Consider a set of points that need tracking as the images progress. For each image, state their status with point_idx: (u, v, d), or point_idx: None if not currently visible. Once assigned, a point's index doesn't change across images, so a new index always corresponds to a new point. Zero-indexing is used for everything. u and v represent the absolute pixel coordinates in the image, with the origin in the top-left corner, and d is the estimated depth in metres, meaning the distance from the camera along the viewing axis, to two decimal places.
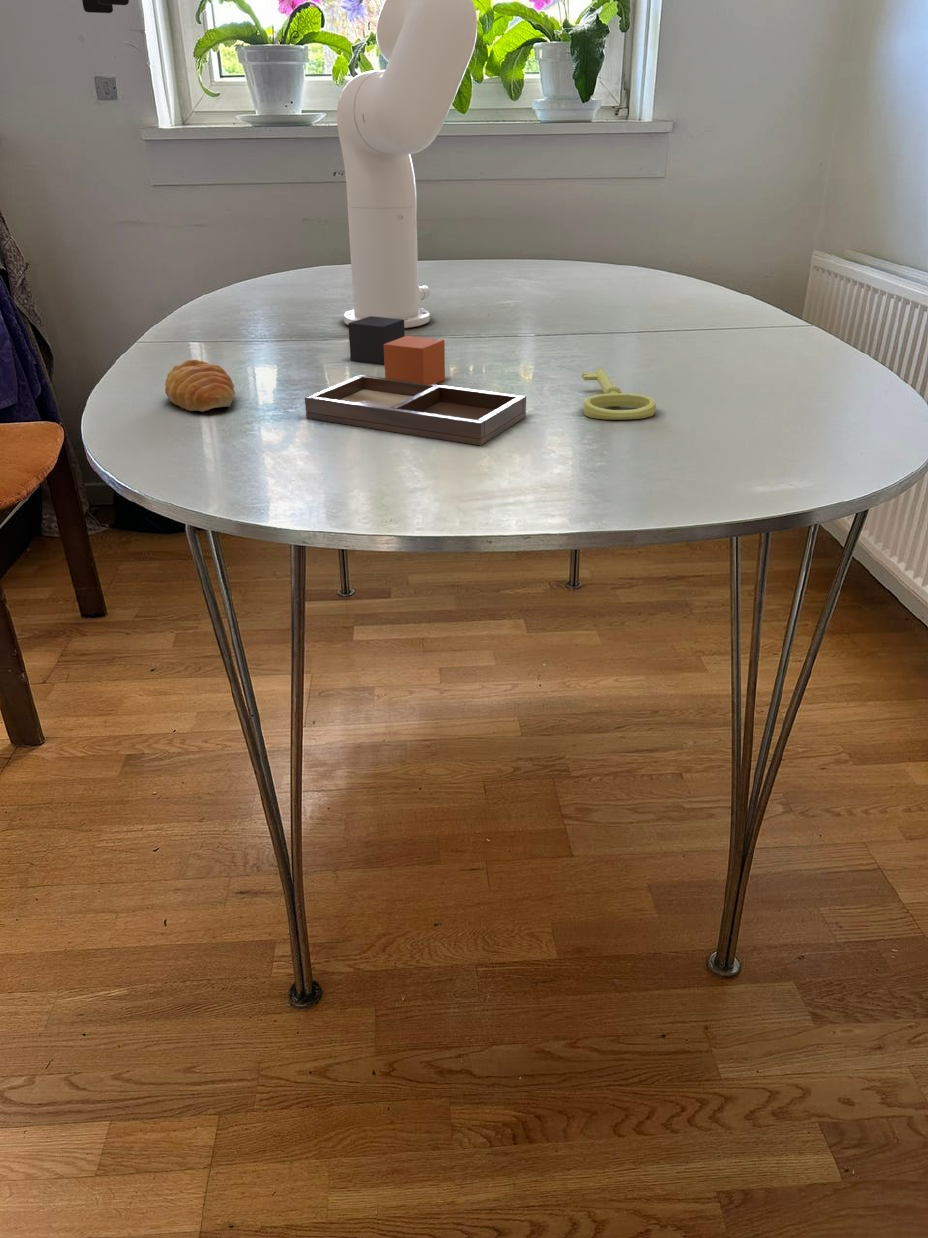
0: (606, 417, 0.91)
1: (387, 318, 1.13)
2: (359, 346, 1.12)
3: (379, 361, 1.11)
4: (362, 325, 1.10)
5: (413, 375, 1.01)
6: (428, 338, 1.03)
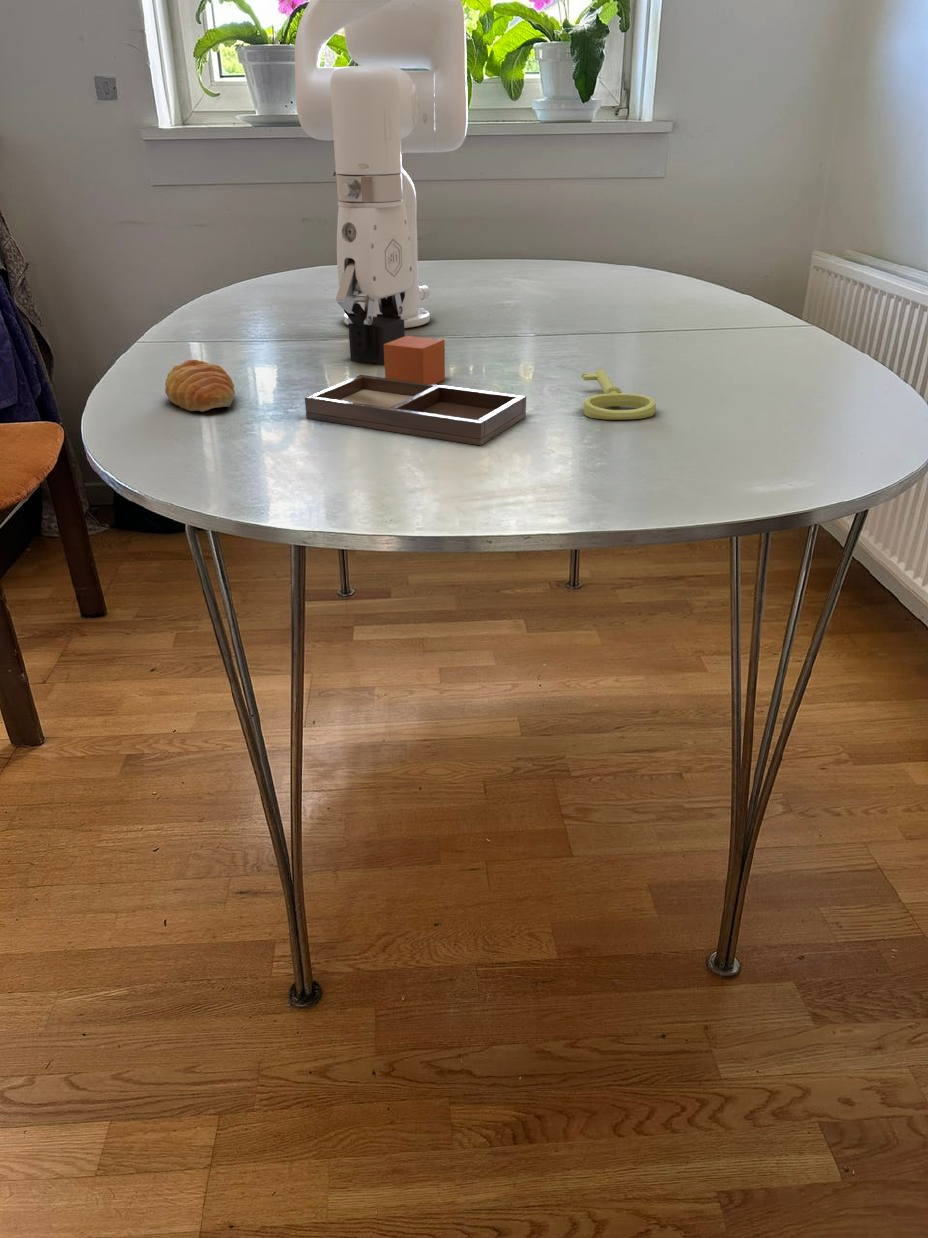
0: (606, 417, 0.91)
1: (387, 318, 1.13)
2: None
3: (379, 361, 1.11)
4: None
5: (413, 375, 1.01)
6: (428, 338, 1.03)
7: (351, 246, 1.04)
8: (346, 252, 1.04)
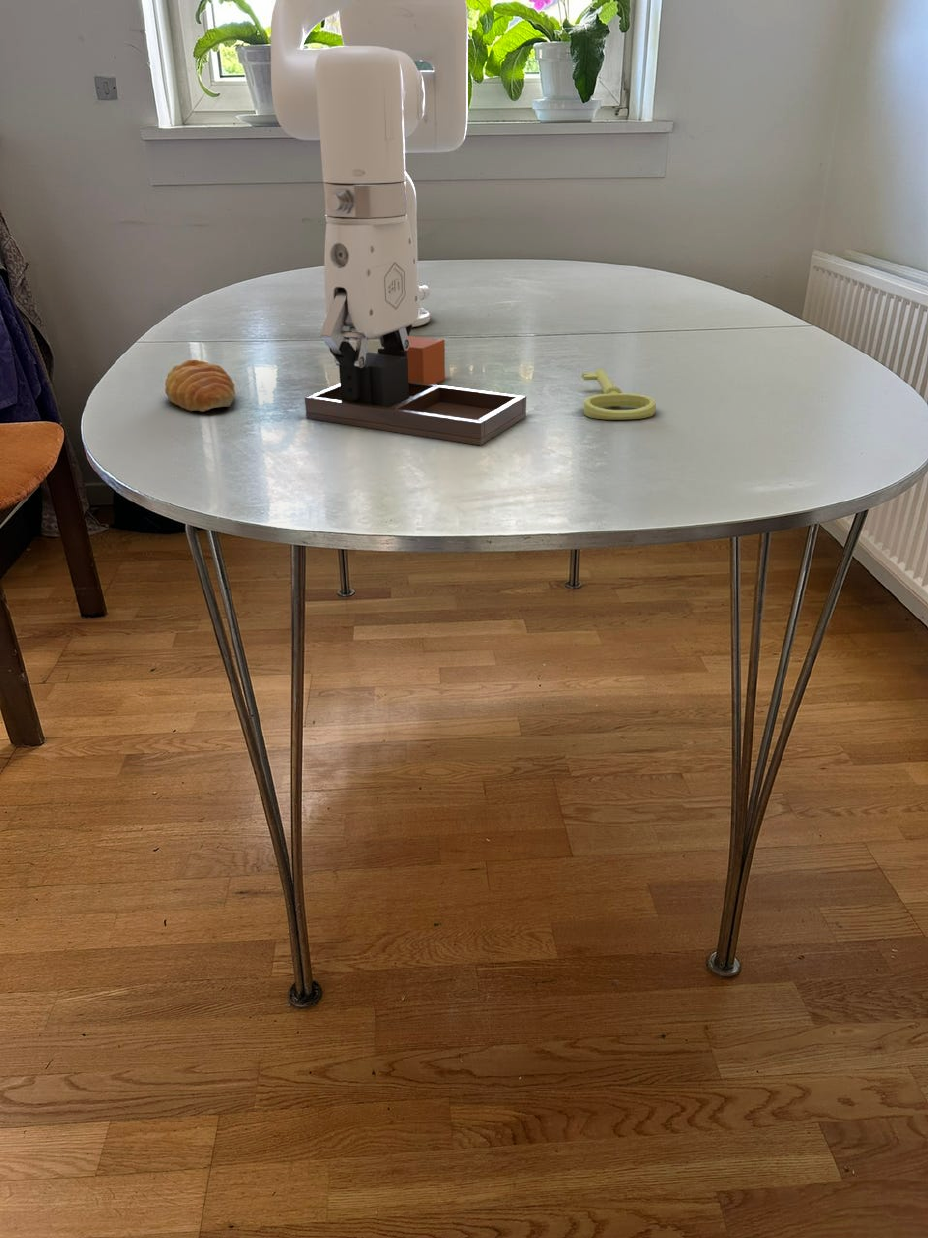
0: (606, 417, 0.91)
1: (387, 355, 0.92)
2: None
3: None
4: None
5: (413, 375, 1.01)
6: (428, 338, 1.03)
7: (342, 273, 0.83)
8: (335, 280, 0.83)
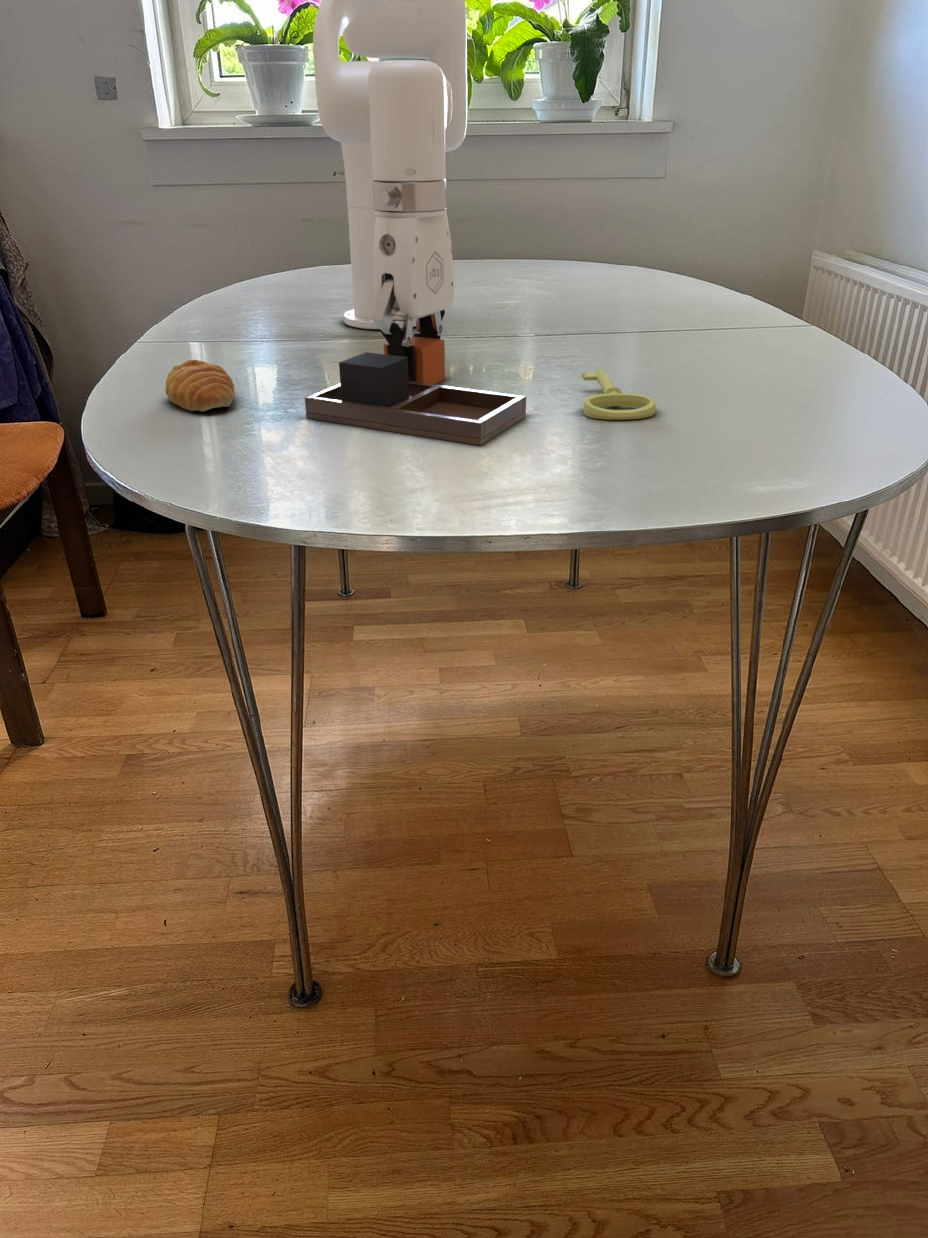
0: (606, 417, 0.91)
1: (387, 355, 0.92)
2: (352, 390, 0.91)
3: None
4: (356, 365, 0.89)
5: None
6: (428, 338, 1.03)
7: (390, 260, 0.93)
8: (383, 267, 0.94)
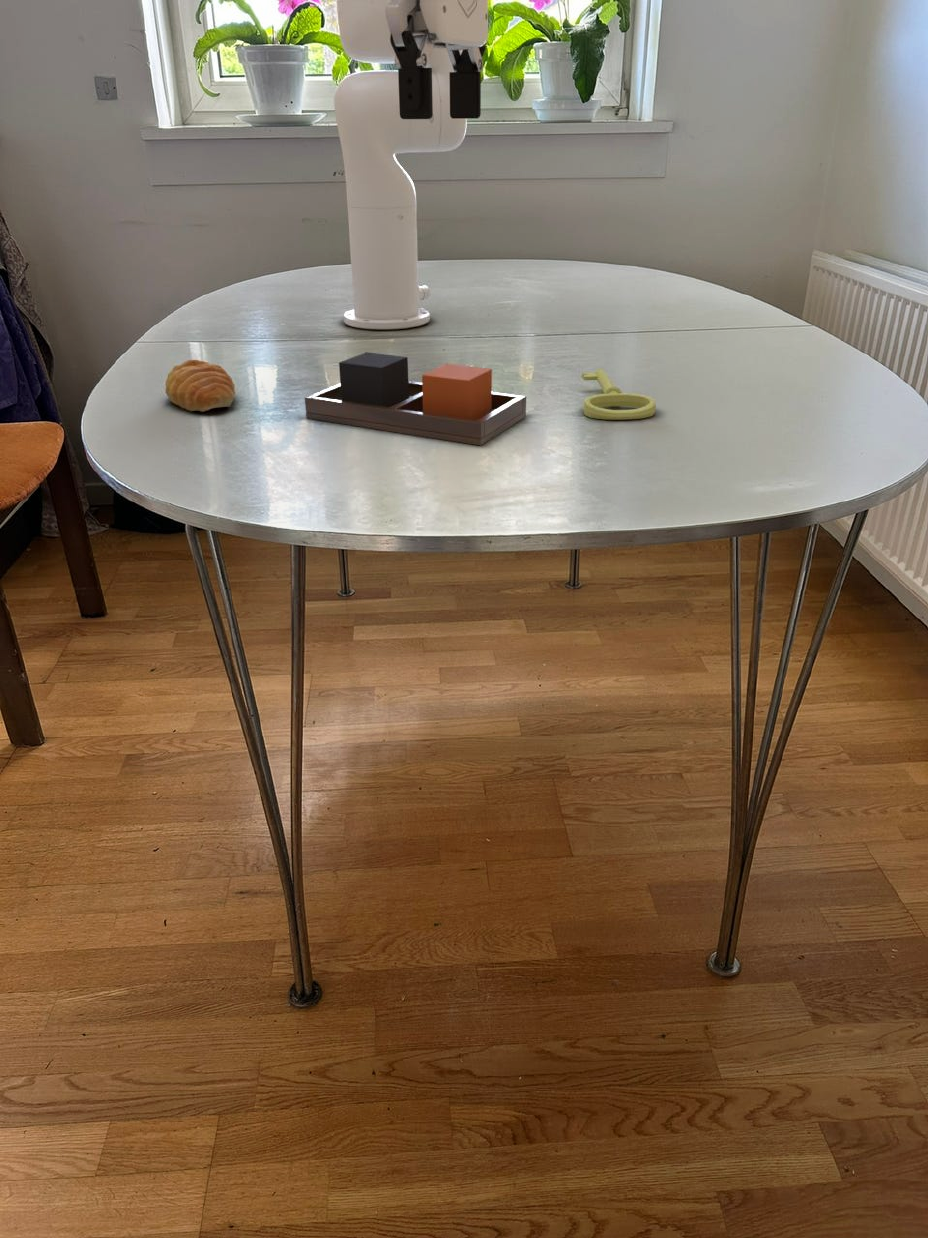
0: (606, 417, 0.91)
1: (387, 355, 0.92)
2: (352, 390, 0.91)
3: None
4: (356, 365, 0.89)
5: (457, 411, 0.86)
6: (473, 367, 0.89)
7: None
8: None
